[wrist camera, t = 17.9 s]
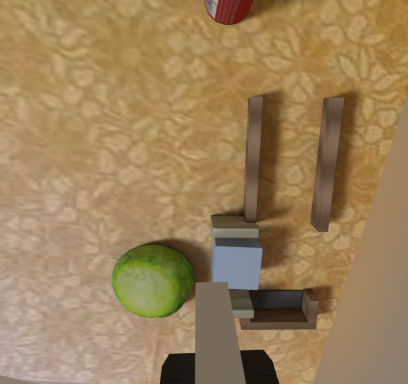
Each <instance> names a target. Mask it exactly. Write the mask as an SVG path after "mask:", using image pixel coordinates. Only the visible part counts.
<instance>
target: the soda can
mask: <svg viewBox="0 0 408 384" xmlns="http://www.w3.org/2000/svg"><path fill="white" fill-rule="evenodd" d="M252 2H253V0H204V3H205V6H206V9H207V12H208V14H209V15H210V16H211V17H212V18H213V19H214V20H215V21H216V22H218V23H221V24H224V25H232V24H236V23H238V22H239V21H241V20H242V19H243V18H244V17H245V16H246V14H247V13H248V11H249V9H250V7H251V4H252Z"/></svg>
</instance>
